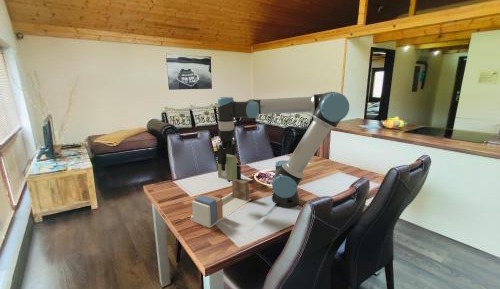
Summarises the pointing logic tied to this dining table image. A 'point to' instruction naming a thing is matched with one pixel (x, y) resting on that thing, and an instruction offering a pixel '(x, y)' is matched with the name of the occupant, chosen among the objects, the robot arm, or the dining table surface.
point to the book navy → (212, 204)
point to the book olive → (229, 168)
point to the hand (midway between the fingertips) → (227, 174)
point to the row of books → (203, 211)
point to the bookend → (240, 189)
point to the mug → (238, 173)
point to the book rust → (218, 206)
